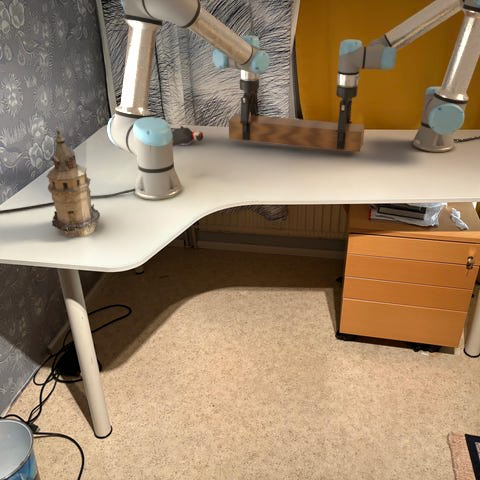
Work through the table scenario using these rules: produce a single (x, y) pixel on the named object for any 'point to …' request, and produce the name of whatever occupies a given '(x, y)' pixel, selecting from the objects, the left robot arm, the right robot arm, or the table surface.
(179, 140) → the toy
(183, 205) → the table surface
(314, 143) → the wide beam
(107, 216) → the table surface
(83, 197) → the miniature building
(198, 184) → the table surface
